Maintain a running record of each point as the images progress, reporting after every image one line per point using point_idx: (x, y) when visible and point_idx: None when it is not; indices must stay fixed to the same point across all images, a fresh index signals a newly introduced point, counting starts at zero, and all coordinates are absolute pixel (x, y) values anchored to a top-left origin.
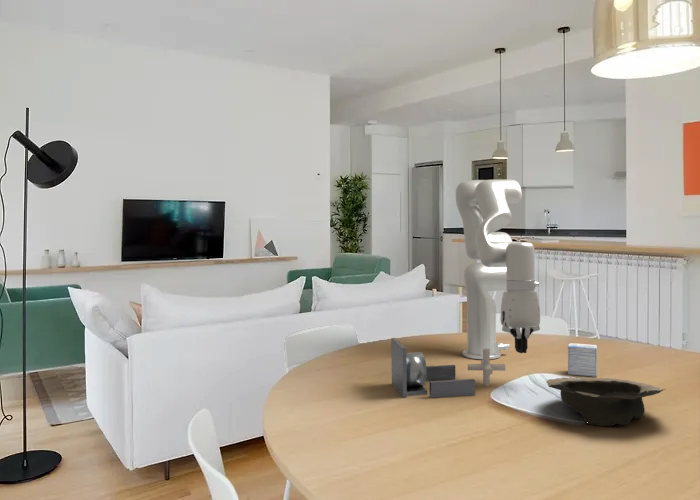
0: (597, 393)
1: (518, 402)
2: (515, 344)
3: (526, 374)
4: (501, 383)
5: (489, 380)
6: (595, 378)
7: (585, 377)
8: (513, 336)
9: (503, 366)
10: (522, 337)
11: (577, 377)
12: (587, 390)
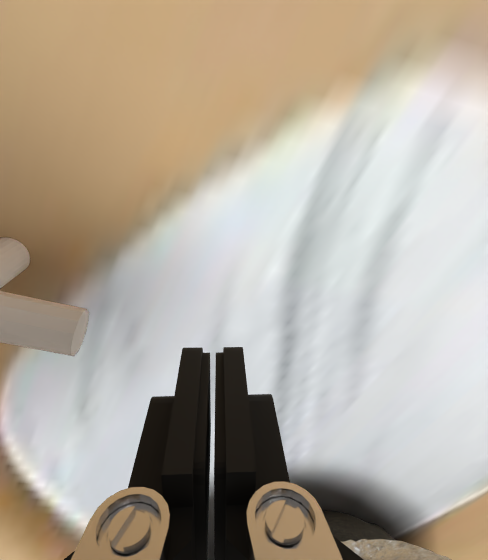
0: (373, 536)
1: (95, 476)
2: (145, 439)
3: (355, 81)
4: (108, 242)
5: (11, 279)
6: (425, 554)
7: (398, 543)
8: (101, 515)
9: (61, 352)
10: (225, 556)
11: (365, 540)
12: (349, 538)
